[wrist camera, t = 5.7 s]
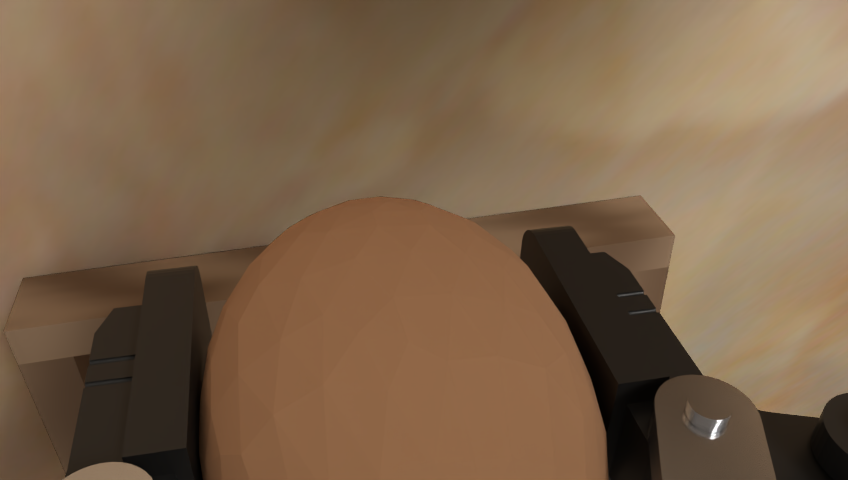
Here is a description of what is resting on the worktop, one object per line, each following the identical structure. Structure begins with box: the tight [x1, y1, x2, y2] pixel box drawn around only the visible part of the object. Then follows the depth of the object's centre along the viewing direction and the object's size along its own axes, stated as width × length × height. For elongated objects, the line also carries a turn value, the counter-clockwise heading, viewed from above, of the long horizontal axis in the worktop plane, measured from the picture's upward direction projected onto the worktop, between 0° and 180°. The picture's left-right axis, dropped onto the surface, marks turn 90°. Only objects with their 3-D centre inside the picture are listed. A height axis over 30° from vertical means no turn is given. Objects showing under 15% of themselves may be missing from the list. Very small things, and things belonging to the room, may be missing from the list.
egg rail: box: [4, 196, 675, 473], centre depth 26 cm, size 20×10×2 cm, turn 91°
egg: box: [199, 197, 609, 480], centre depth 10 cm, size 5×5×8 cm
